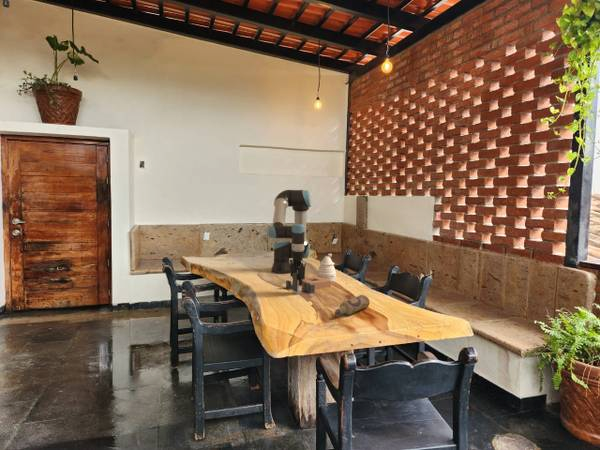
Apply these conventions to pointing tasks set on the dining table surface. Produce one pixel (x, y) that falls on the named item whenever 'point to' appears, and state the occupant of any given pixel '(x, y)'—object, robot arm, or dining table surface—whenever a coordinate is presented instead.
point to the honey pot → (327, 269)
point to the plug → (295, 283)
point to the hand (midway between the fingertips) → (297, 289)
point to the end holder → (317, 282)
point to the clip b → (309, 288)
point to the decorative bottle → (353, 305)
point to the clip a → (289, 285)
